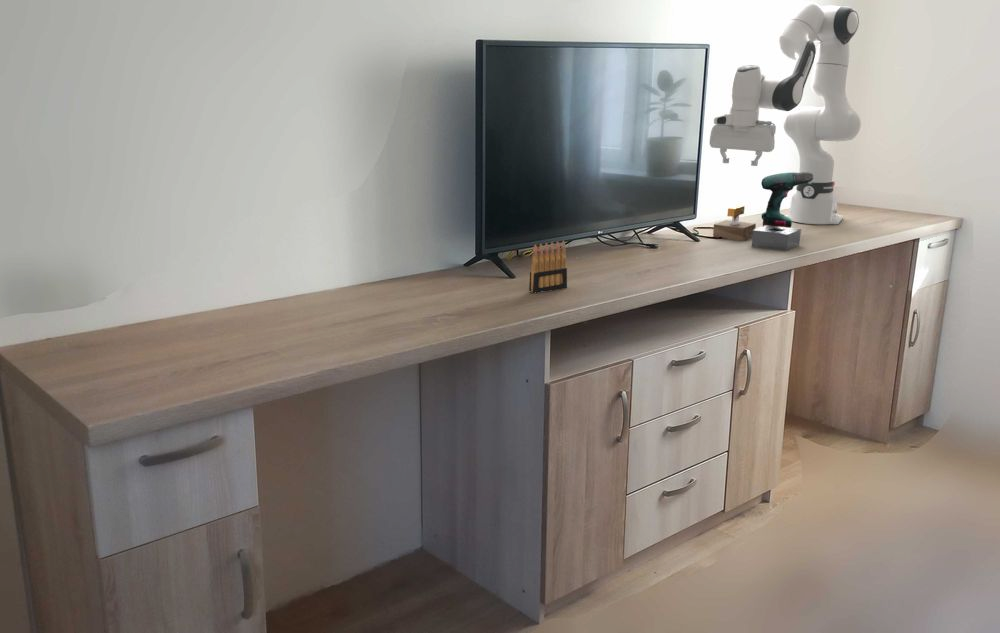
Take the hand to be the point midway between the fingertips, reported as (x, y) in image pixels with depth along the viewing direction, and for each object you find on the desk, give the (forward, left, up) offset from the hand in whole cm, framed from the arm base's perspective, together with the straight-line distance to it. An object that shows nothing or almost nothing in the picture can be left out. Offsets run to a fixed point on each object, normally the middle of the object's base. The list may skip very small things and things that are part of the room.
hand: (739, 164), depth 300 cm
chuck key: (0, 0, -23) cm, 23 cm away
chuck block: (+6, +16, -23) cm, 29 cm away
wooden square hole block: (0, 0, -23) cm, 23 cm away
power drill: (-16, +10, -23) cm, 30 cm away
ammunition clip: (+96, -8, -23) cm, 99 cm away
